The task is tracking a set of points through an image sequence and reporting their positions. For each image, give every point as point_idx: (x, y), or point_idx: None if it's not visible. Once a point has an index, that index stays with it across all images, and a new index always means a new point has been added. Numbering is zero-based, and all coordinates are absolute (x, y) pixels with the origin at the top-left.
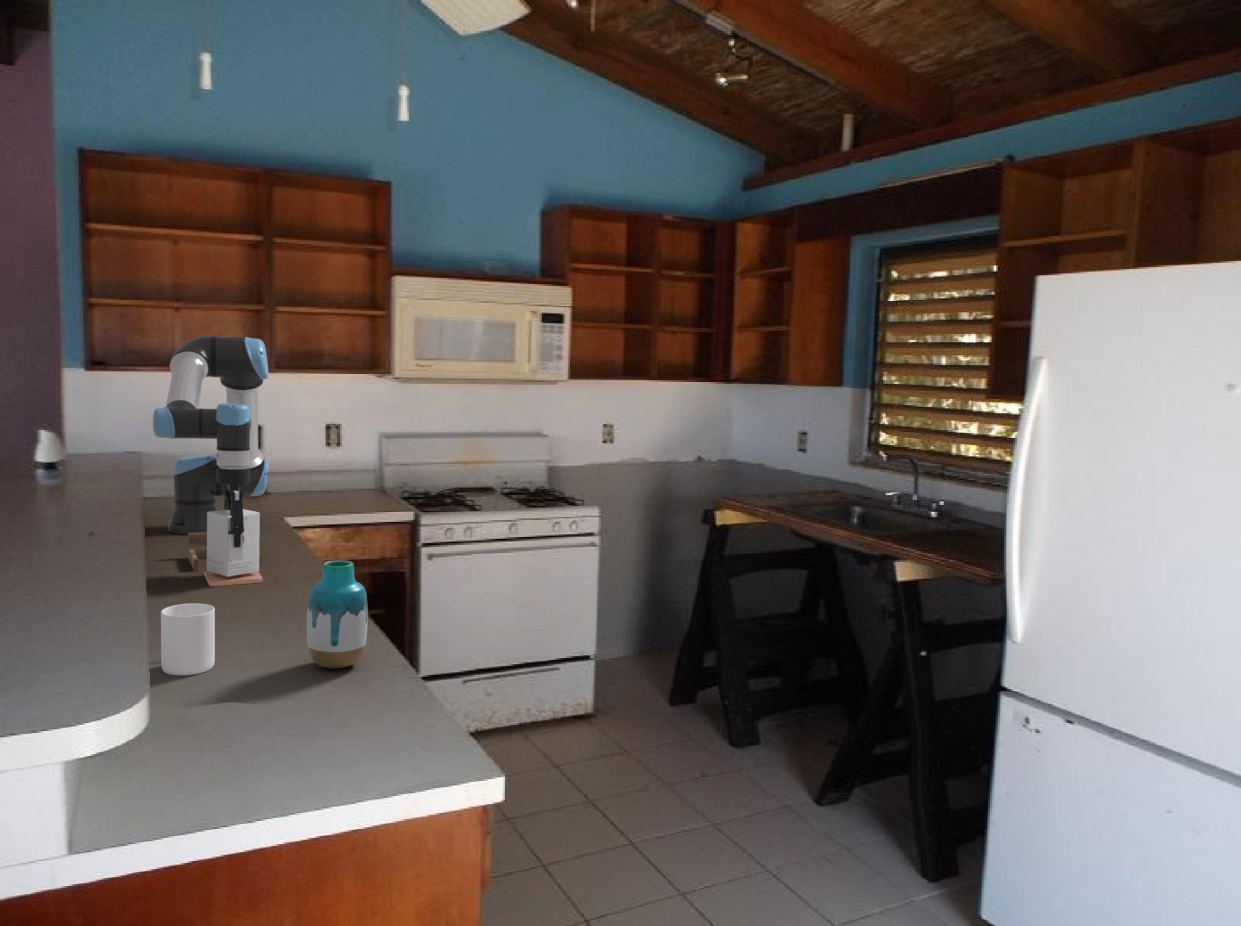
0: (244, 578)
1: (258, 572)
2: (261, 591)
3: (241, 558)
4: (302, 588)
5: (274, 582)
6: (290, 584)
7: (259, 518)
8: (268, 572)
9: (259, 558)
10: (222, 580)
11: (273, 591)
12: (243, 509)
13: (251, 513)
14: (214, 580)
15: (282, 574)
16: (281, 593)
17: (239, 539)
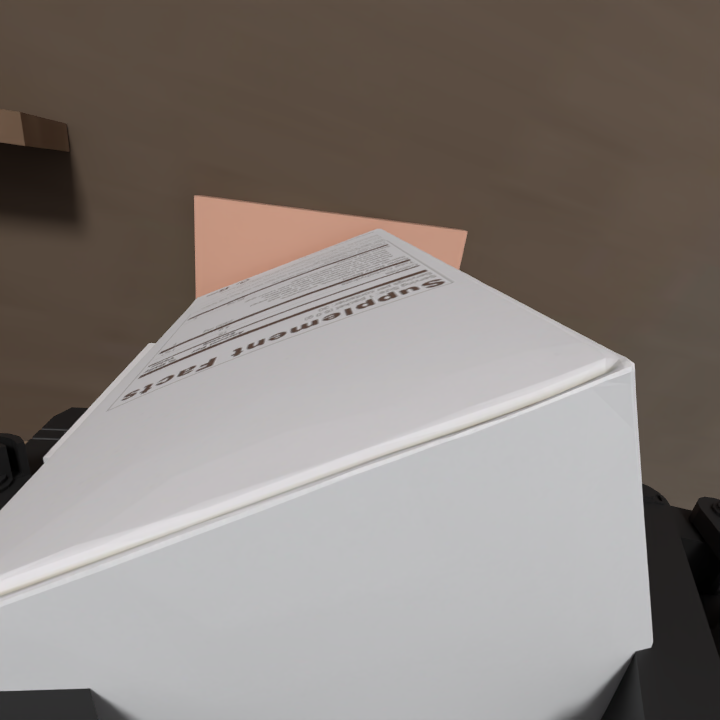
0: None
1: (324, 215)
2: (603, 279)
3: None
4: (679, 77)
5: (486, 174)
6: (570, 107)
7: (563, 325)
8: (242, 128)
9: (34, 127)
10: None
11: (635, 232)
12: (129, 593)
13: (638, 515)
14: None
15: (327, 62)
16: (687, 209)
17: None
